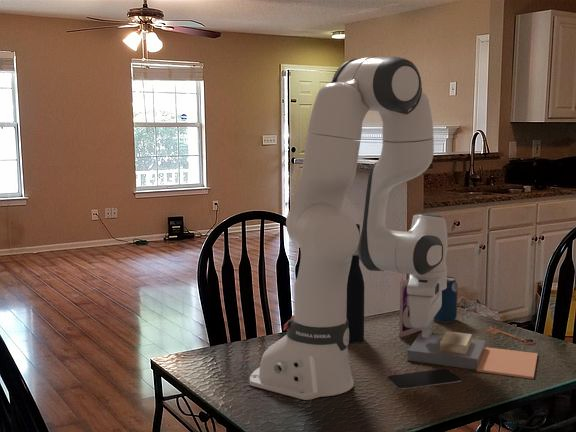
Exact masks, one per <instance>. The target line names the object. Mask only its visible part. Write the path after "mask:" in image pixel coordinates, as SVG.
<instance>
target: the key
mask: <svg viewBox="0 0 576 432" xmlns="http://www.w3.org/2000/svg"><path fill="white" fill-rule="evenodd" d="M484 332H487V333H490V334H491V335H496V334H502V335H504V336H506V337H508V338H511V339H514V340H517V341H520V344H521V345H524V346H532V345H534V344H535V343H536V341H535V340H534V339H531V338H527V339H524V338H522V337H519V336H517V335H514V334H510V333H507V332H505V331H502V330H500V329H497V328H494V327H492V326H489V327H488V329H486V330H484ZM527 342H529V343H527Z"/></svg>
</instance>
